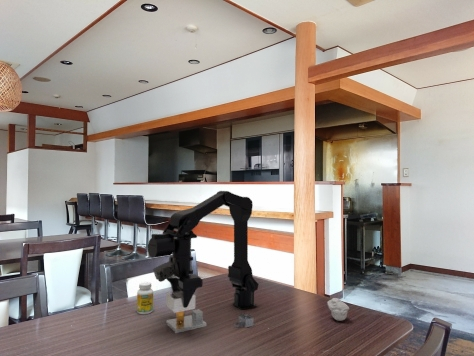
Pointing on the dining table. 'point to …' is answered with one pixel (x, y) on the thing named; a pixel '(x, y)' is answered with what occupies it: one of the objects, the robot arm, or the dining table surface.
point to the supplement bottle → (145, 298)
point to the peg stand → (186, 321)
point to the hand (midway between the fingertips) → (180, 303)
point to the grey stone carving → (338, 309)
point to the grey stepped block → (245, 321)
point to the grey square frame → (178, 302)
